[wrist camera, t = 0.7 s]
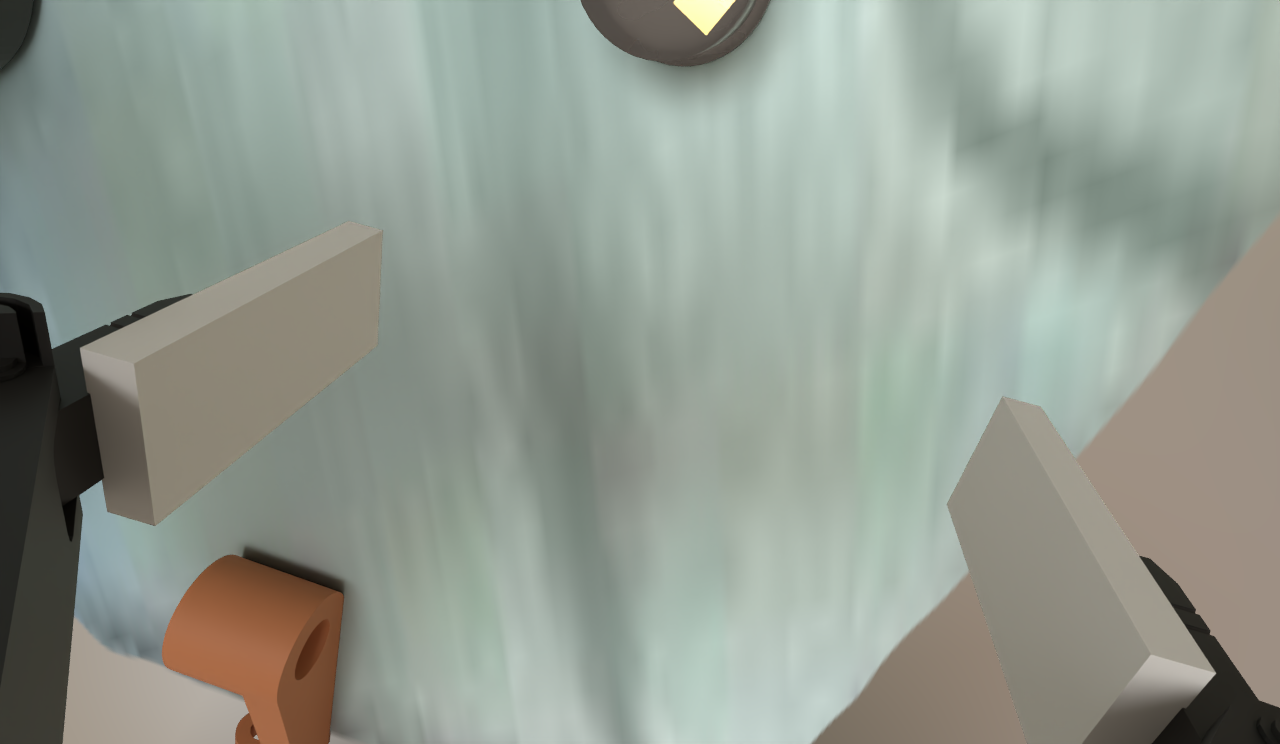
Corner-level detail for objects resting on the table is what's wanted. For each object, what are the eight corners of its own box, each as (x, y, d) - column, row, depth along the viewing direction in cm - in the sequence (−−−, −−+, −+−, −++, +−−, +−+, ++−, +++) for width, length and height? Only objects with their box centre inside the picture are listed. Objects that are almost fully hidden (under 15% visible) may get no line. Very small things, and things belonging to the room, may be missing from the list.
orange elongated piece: (244, 532, 52) (159, 612, 45) (348, 568, 52) (278, 655, 45) (242, 709, 61) (170, 798, 54) (329, 741, 61) (269, 835, 54)
